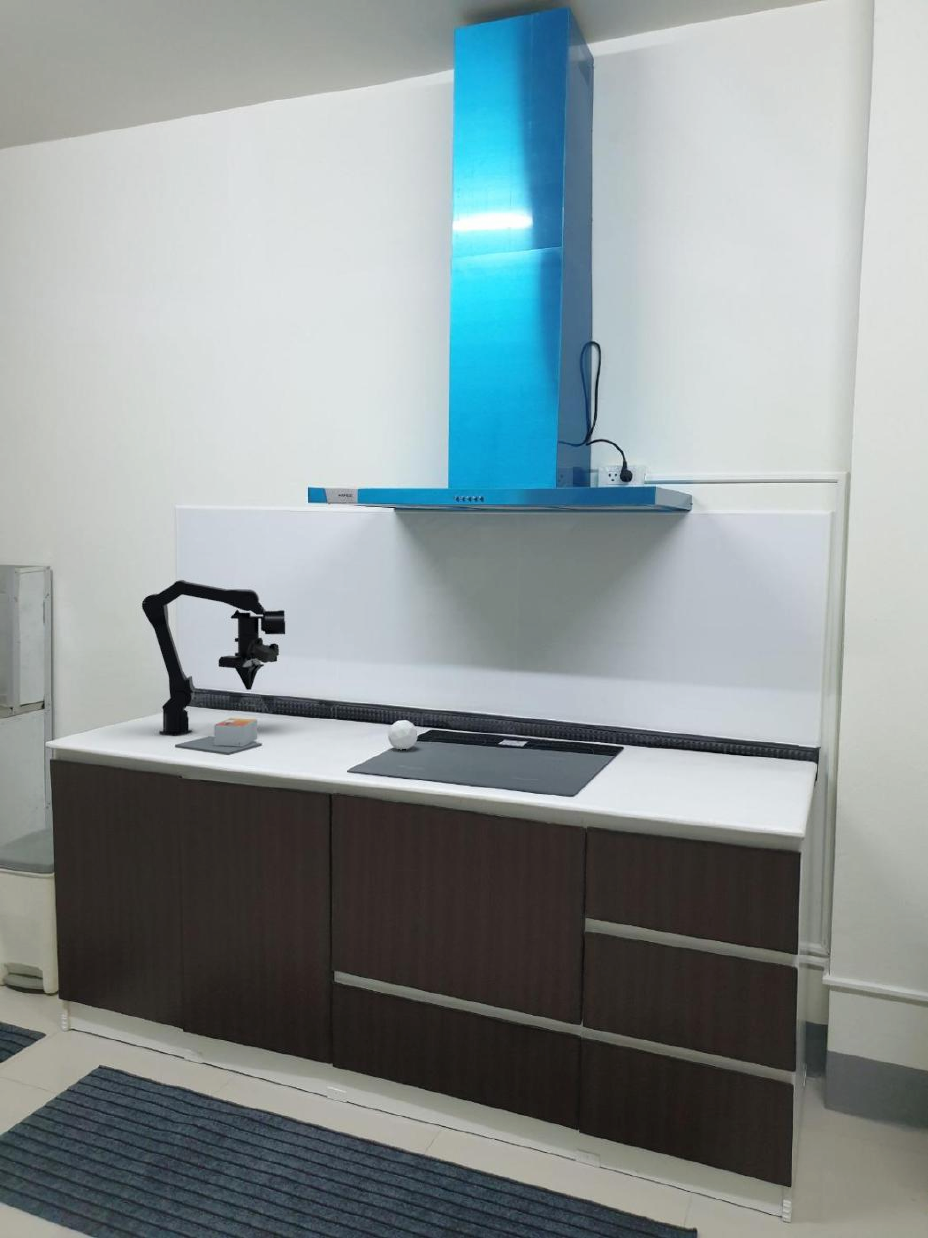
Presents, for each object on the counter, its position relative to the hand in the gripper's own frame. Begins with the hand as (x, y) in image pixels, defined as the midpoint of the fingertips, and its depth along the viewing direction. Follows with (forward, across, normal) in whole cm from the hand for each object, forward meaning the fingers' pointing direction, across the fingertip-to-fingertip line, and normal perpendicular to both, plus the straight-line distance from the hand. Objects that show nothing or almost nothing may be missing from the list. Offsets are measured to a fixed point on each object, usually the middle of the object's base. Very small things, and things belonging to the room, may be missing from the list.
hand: (248, 689), depth 270 cm
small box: (+9, -10, -7) cm, 15 cm away
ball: (+12, +3, -49) cm, 51 cm away
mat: (+12, -19, -6) cm, 23 cm away
